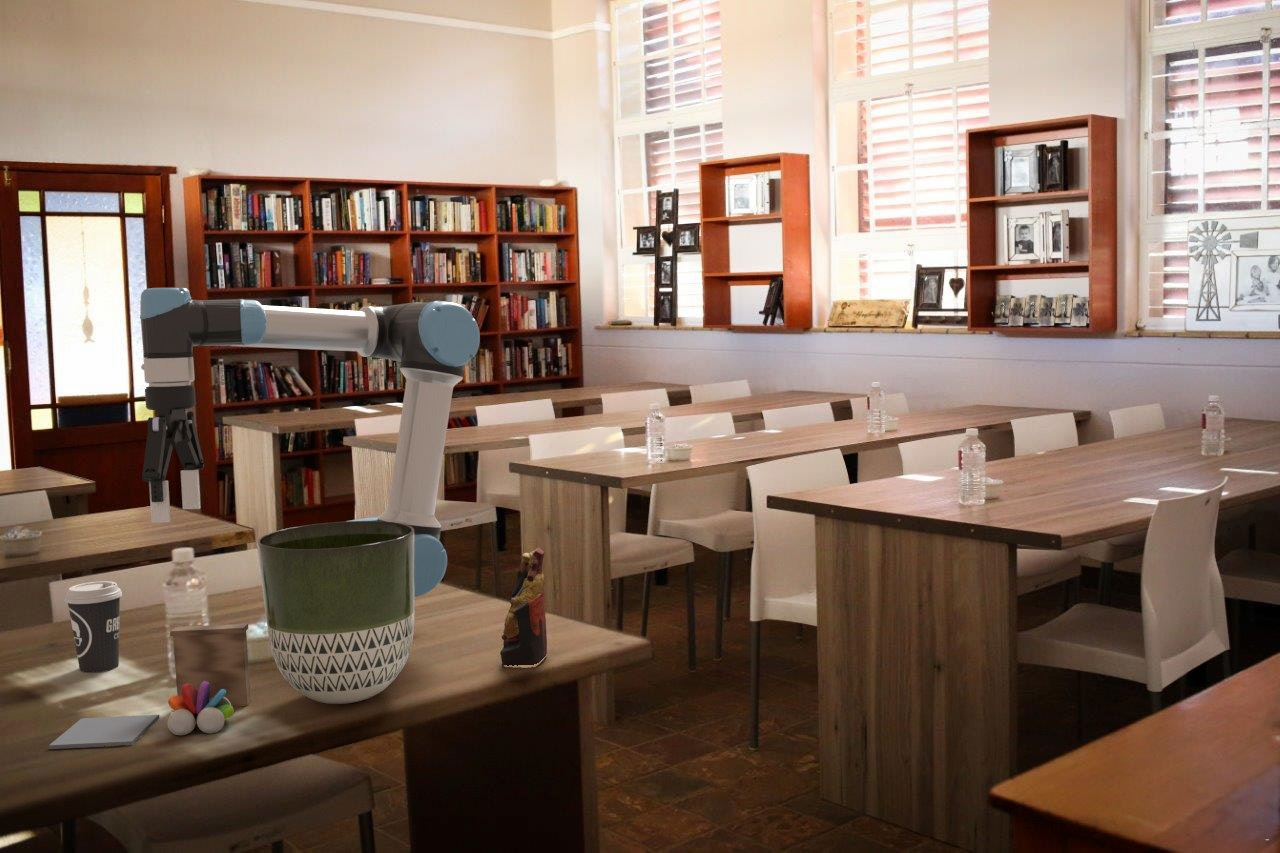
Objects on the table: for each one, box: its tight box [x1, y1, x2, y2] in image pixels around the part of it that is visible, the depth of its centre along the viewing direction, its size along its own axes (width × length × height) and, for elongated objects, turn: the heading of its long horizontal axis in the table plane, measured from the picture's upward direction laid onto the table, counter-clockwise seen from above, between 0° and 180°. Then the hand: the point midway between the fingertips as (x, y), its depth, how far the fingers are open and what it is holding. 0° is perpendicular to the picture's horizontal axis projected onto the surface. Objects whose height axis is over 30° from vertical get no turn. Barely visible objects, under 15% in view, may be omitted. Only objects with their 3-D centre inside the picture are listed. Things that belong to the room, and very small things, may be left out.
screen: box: [169, 623, 252, 707], centre depth 202 cm, size 12×3×13 cm, turn 93°
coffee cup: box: [64, 580, 123, 674], centre depth 226 cm, size 10×10×15 cm
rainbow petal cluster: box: [167, 681, 234, 736], centre depth 192 cm, size 8×10×7 cm
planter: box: [256, 520, 415, 705], centre depth 203 cm, size 24×24×27 cm
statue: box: [499, 547, 548, 666], centre depth 220 cm, size 12×8×20 cm, turn 168°
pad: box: [48, 714, 160, 750], centre depth 191 cm, size 12×12×1 cm
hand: (176, 515), depth 203 cm, fingers open, 13 cm apart
